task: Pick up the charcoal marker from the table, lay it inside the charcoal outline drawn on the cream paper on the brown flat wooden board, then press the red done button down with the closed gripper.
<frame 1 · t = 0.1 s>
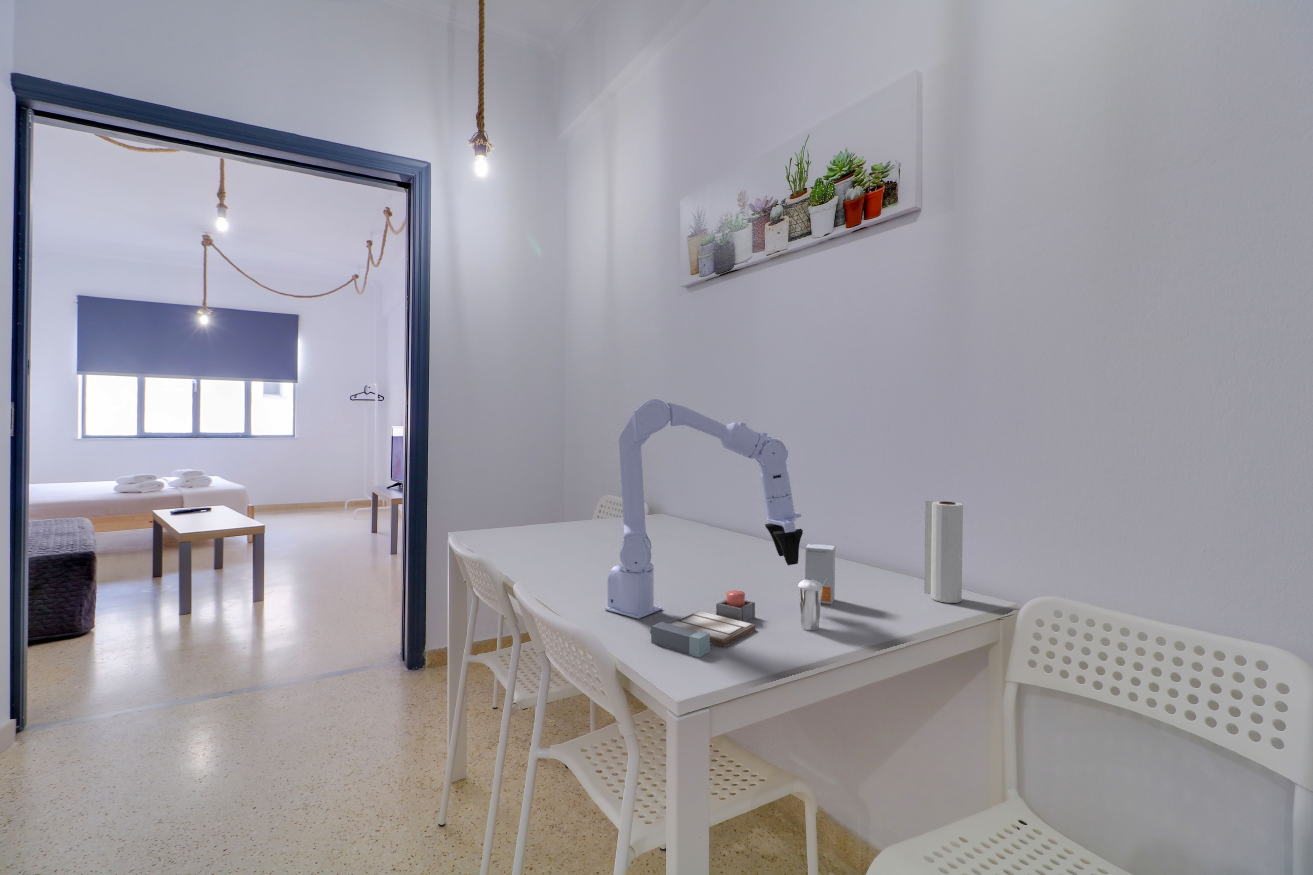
hand: (788, 559, 125), 11 cm above the table, tool pointing down, fingers open, 7 cm apart
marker: (678, 646, 106), on the table
skincare box: (819, 601, 132), on the table
done button: (735, 600, 121), point 4 cm above the table, slide at 0.0 cm
paper towel roll: (944, 599, 132), on the table
button housing: (735, 617, 121), on the table
milkshake: (812, 629, 115), on the table
brown flat wooden board: (710, 630, 114), on the table
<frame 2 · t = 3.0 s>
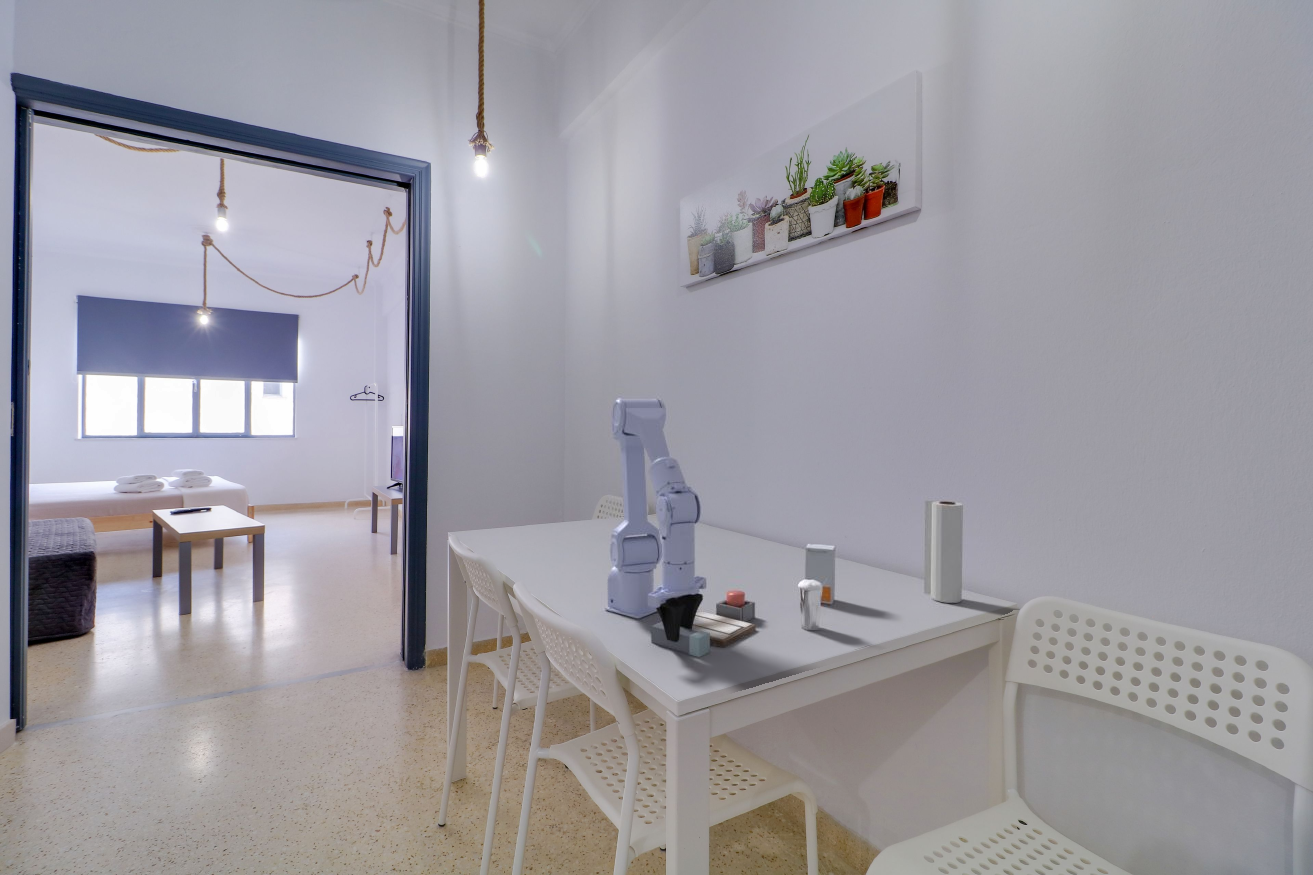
hand: (678, 637, 106), 2 cm above the table, tool pointing down, fingers closed on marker, 3 cm apart
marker: (678, 646, 106), on the table, touching gripper
everything else where it was.
when the fingers open (4 cm above the table, at t = 5.8 s): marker stays where it is, resting on brown flat wooden board.
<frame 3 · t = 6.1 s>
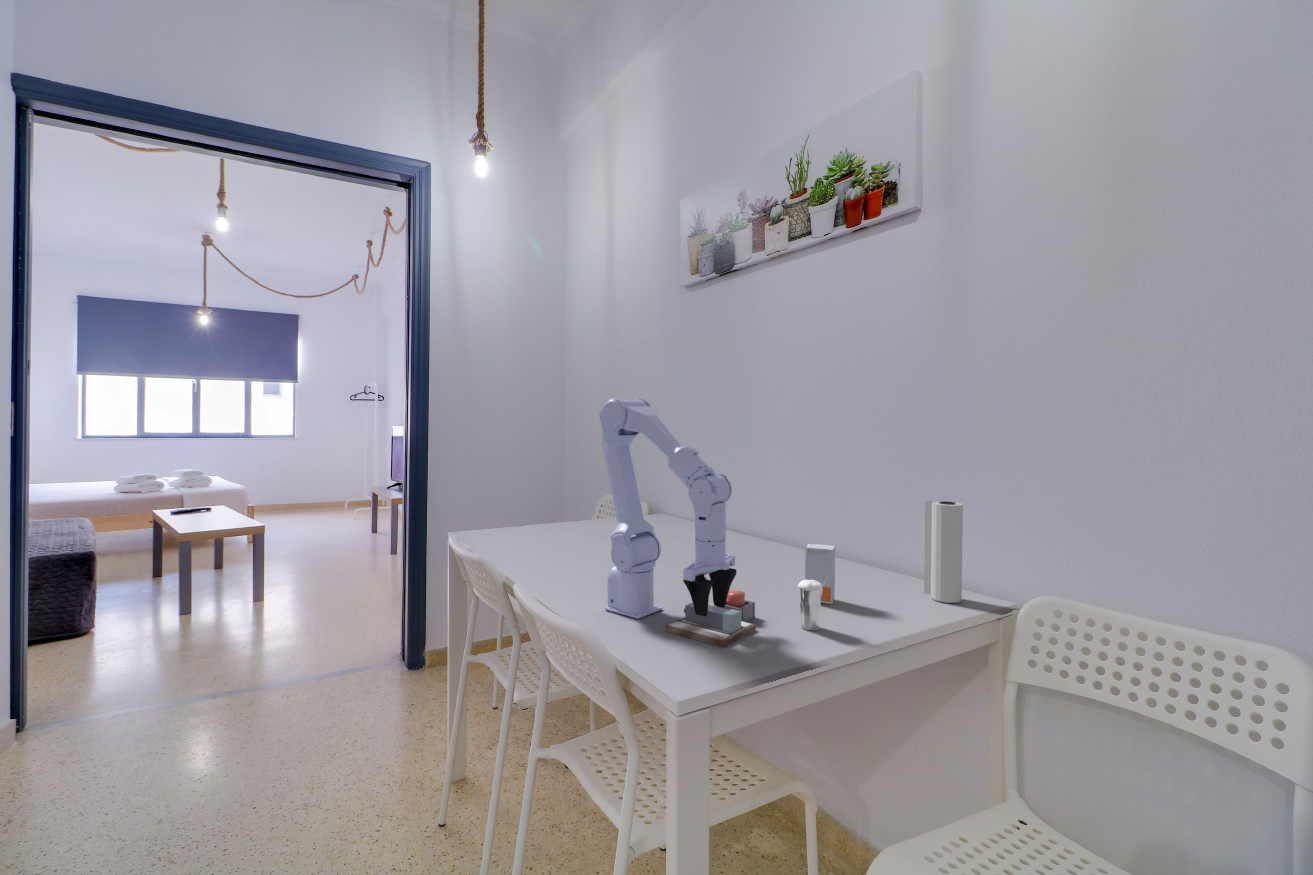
hand: (710, 610, 114), 4 cm above the table, tool pointing down, fingers open, 6 cm apart
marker: (711, 624, 114), point 1 cm above the table, touching brown flat wooden board
everything else where it was.
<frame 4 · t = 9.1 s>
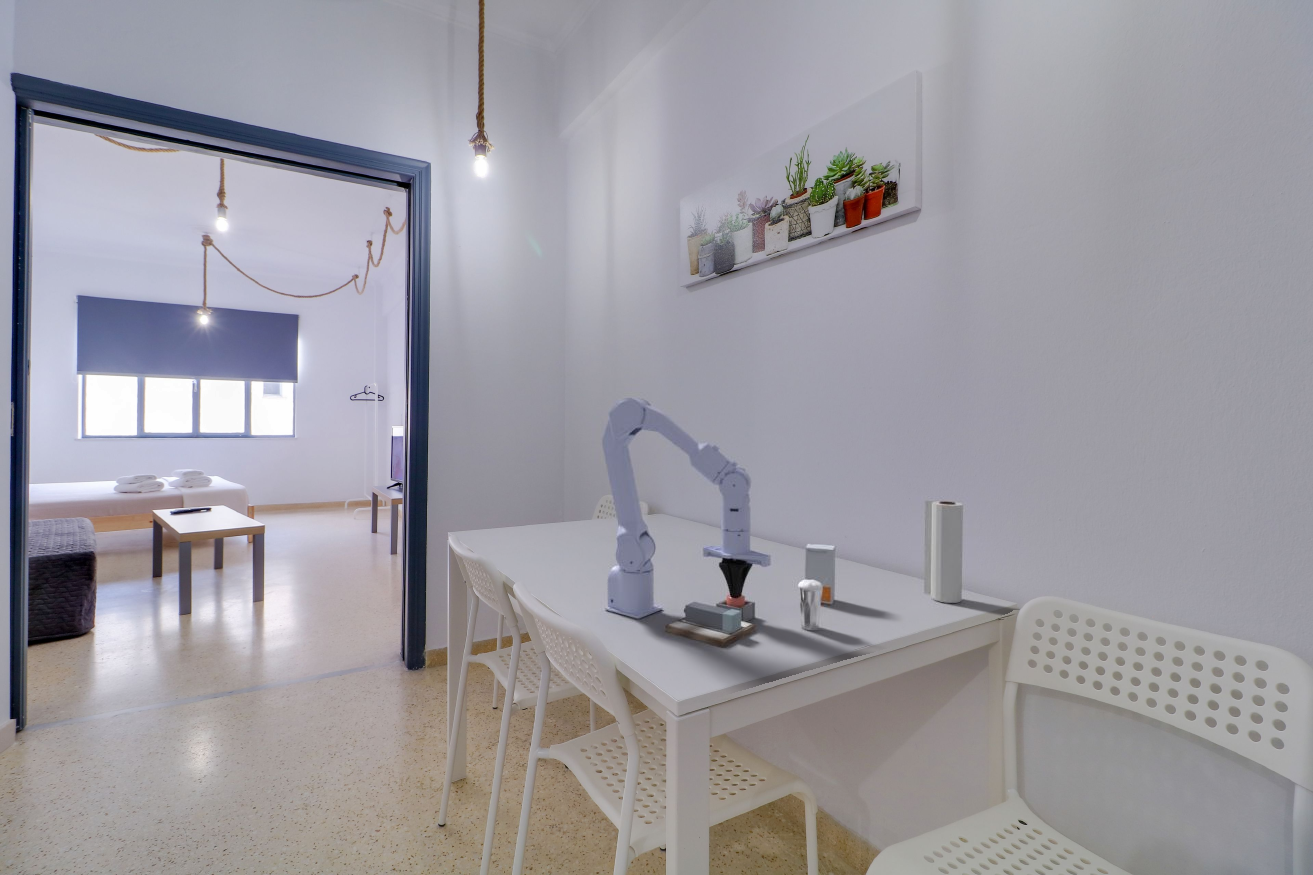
hand: (735, 596, 121), 4 cm above the table, tool pointing down, fingers closed, pressing on done button
done button: (735, 603, 121), point 3 cm above the table, slide at 0.7 cm, touching gripper
everything else where it was.
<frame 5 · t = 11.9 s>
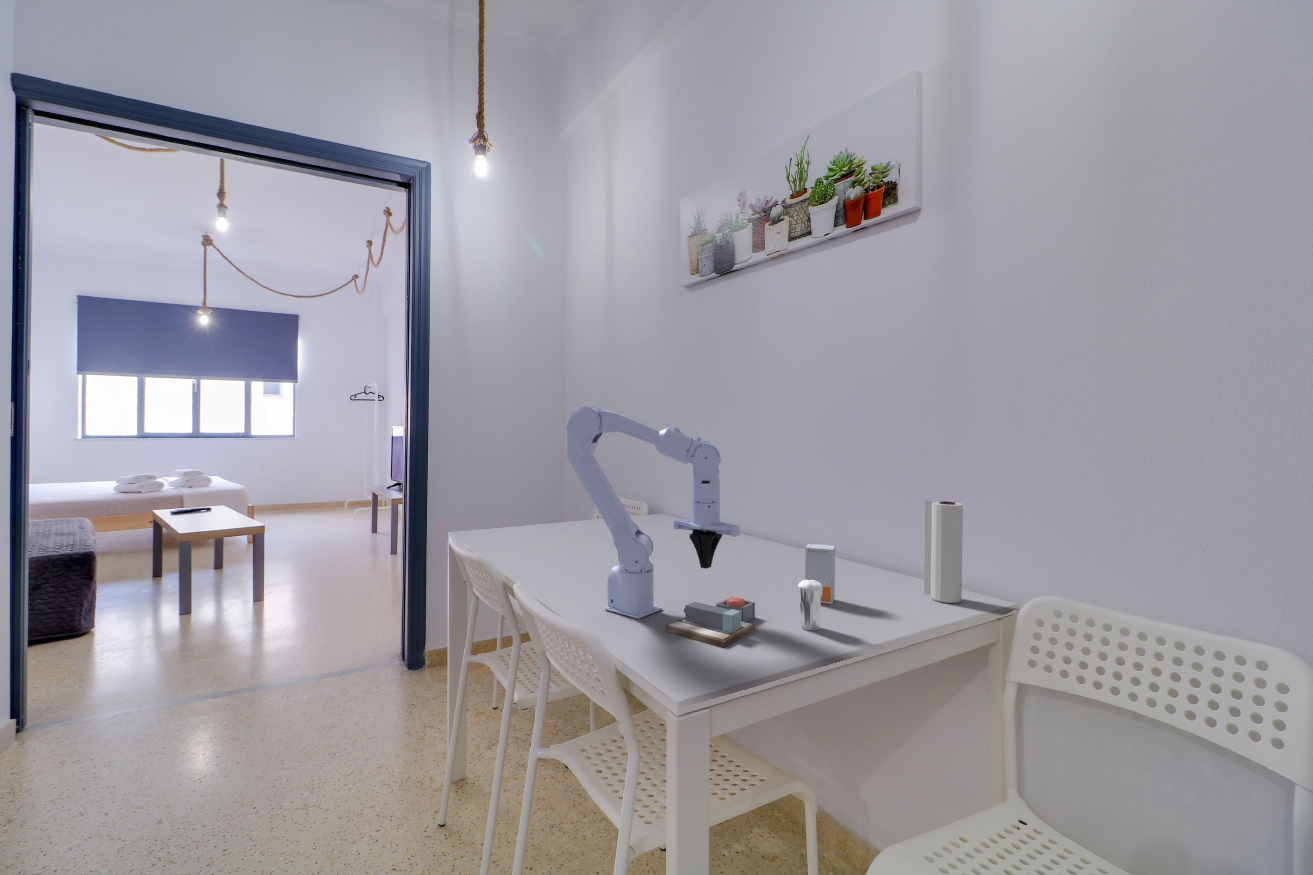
hand: (705, 567, 124), 9 cm above the table, tool pointing down, fingers closed
done button: (735, 607, 121), point 2 cm above the table, slide at 1.4 cm
everything else where it was.
at the end: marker 0.2 cm off-centre on the brown flat wooden board, point 1.2 cm above the brown flat wooden board's base; the gripper is holding nothing; done button slide at 1.4 cm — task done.
